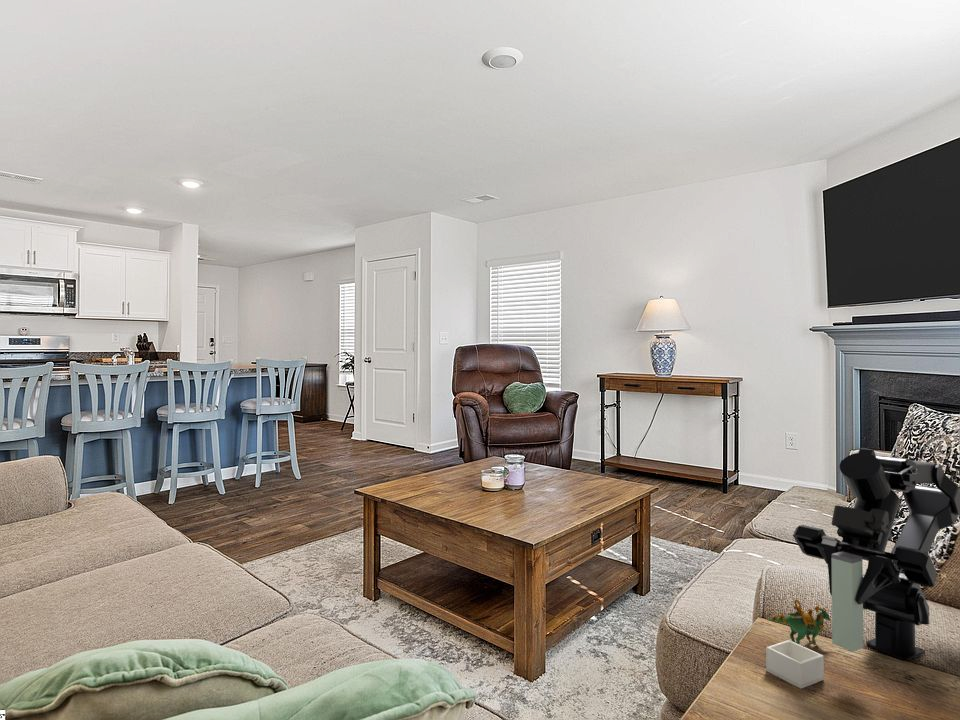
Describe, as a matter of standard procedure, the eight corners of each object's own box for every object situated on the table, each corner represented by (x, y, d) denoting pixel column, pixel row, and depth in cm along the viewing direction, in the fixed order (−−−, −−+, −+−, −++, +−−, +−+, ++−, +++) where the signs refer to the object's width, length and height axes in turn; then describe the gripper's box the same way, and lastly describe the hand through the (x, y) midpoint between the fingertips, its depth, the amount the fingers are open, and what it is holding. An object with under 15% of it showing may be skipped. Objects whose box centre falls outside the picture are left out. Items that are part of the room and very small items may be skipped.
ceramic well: (788, 662, 93) (788, 639, 93) (823, 679, 88) (823, 655, 88) (766, 670, 90) (766, 647, 91) (800, 688, 85) (800, 663, 85)
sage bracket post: (843, 639, 89) (842, 551, 89) (863, 647, 86) (862, 556, 87) (832, 643, 87) (831, 554, 88) (852, 651, 85) (851, 559, 85)
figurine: (836, 648, 98) (836, 601, 99) (773, 650, 97) (773, 603, 97) (824, 640, 101) (824, 595, 102) (762, 642, 100) (762, 596, 100)
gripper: (798, 478, 98) (766, 552, 91) (929, 498, 82) (902, 589, 76) (818, 516, 102) (789, 590, 95) (947, 542, 87) (923, 632, 80)
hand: (844, 598), depth 86 cm, fingers closed on sage bracket post, 3 cm apart
